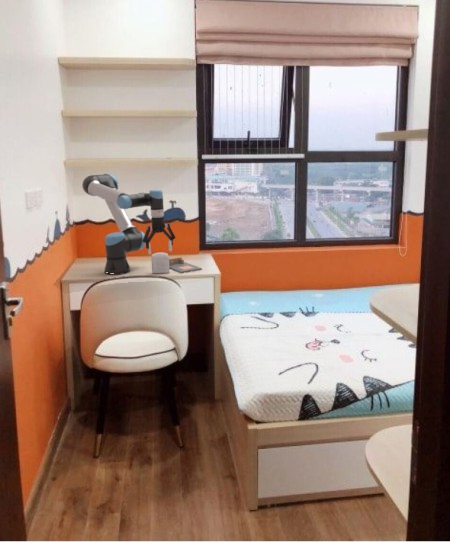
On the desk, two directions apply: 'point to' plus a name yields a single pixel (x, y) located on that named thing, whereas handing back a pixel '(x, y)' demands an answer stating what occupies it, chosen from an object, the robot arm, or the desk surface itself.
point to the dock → (182, 265)
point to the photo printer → (160, 263)
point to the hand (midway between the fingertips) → (160, 252)
